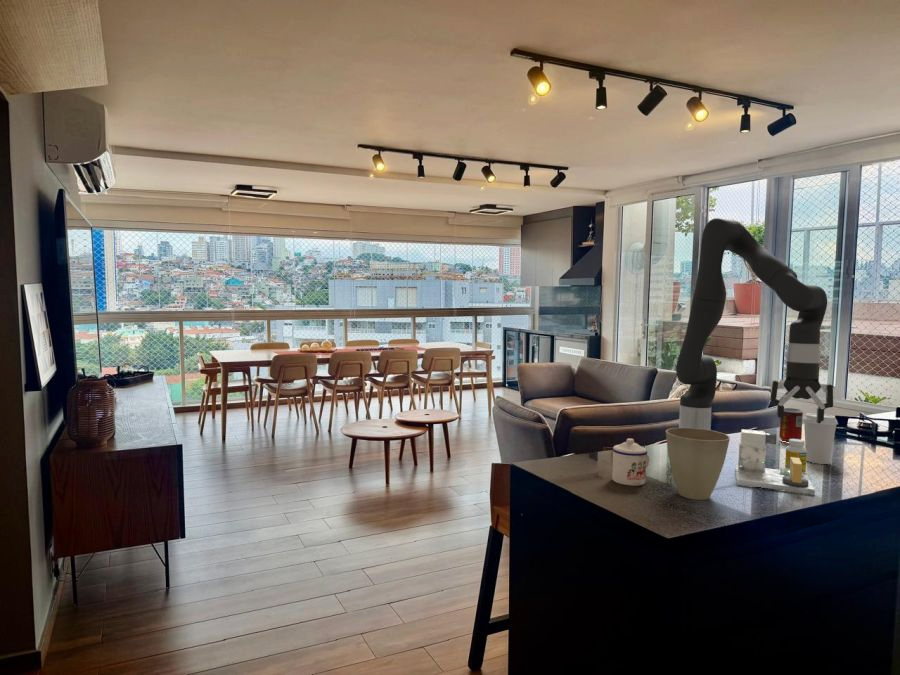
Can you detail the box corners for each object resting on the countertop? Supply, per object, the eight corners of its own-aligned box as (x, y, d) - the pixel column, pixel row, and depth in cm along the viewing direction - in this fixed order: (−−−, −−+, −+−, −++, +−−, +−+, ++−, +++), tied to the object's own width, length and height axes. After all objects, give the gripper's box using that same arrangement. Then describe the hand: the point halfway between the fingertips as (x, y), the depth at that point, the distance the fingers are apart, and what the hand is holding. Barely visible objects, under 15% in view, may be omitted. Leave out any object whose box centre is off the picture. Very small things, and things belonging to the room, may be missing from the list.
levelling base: (736, 485, 159) (739, 439, 159) (735, 469, 176) (737, 428, 175) (814, 495, 152) (816, 447, 151) (805, 478, 168) (807, 434, 168)
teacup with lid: (630, 488, 154) (631, 444, 154) (604, 479, 162) (605, 437, 161) (660, 482, 160) (662, 439, 160) (634, 473, 168) (636, 433, 168)
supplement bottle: (790, 468, 178) (792, 437, 178) (809, 473, 174) (811, 441, 173) (781, 471, 175) (782, 439, 175) (800, 475, 171) (801, 442, 170)
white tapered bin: (803, 463, 185) (805, 416, 184) (798, 457, 194) (800, 411, 193) (838, 467, 181) (841, 419, 180) (831, 460, 190) (834, 414, 189)
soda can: (804, 442, 216) (806, 409, 215) (795, 445, 212) (797, 411, 211) (784, 439, 222) (786, 406, 221) (775, 441, 217) (777, 408, 217)
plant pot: (654, 495, 148) (656, 433, 147) (675, 483, 160) (677, 425, 159) (716, 509, 139) (719, 442, 138) (734, 495, 150) (737, 433, 149)
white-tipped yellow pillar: (809, 488, 153) (811, 465, 152) (783, 484, 155) (784, 462, 155) (806, 481, 159) (807, 459, 159) (781, 478, 162) (782, 456, 161)
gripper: (773, 360, 155) (770, 420, 156) (837, 363, 150) (834, 426, 150) (771, 358, 162) (768, 416, 163) (832, 361, 156) (828, 421, 157)
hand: (799, 421), depth 157 cm, fingers open, 8 cm apart
